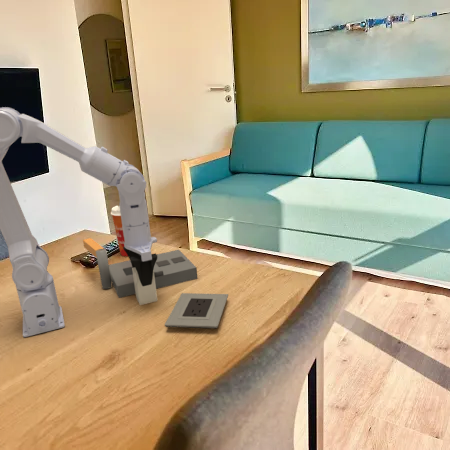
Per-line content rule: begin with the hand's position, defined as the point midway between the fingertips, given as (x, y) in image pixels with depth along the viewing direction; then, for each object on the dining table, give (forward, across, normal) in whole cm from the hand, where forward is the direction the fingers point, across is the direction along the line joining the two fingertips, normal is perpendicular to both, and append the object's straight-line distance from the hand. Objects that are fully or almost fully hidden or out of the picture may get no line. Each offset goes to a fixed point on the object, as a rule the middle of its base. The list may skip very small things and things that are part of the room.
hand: (143, 279), depth 98 cm
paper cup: (+5, +31, -3) cm, 32 cm away
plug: (+5, 0, -1) cm, 5 cm away
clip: (+5, +16, +8) cm, 18 cm away
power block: (+5, +11, -4) cm, 13 cm away
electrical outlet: (+6, -13, -8) cm, 16 cm away
